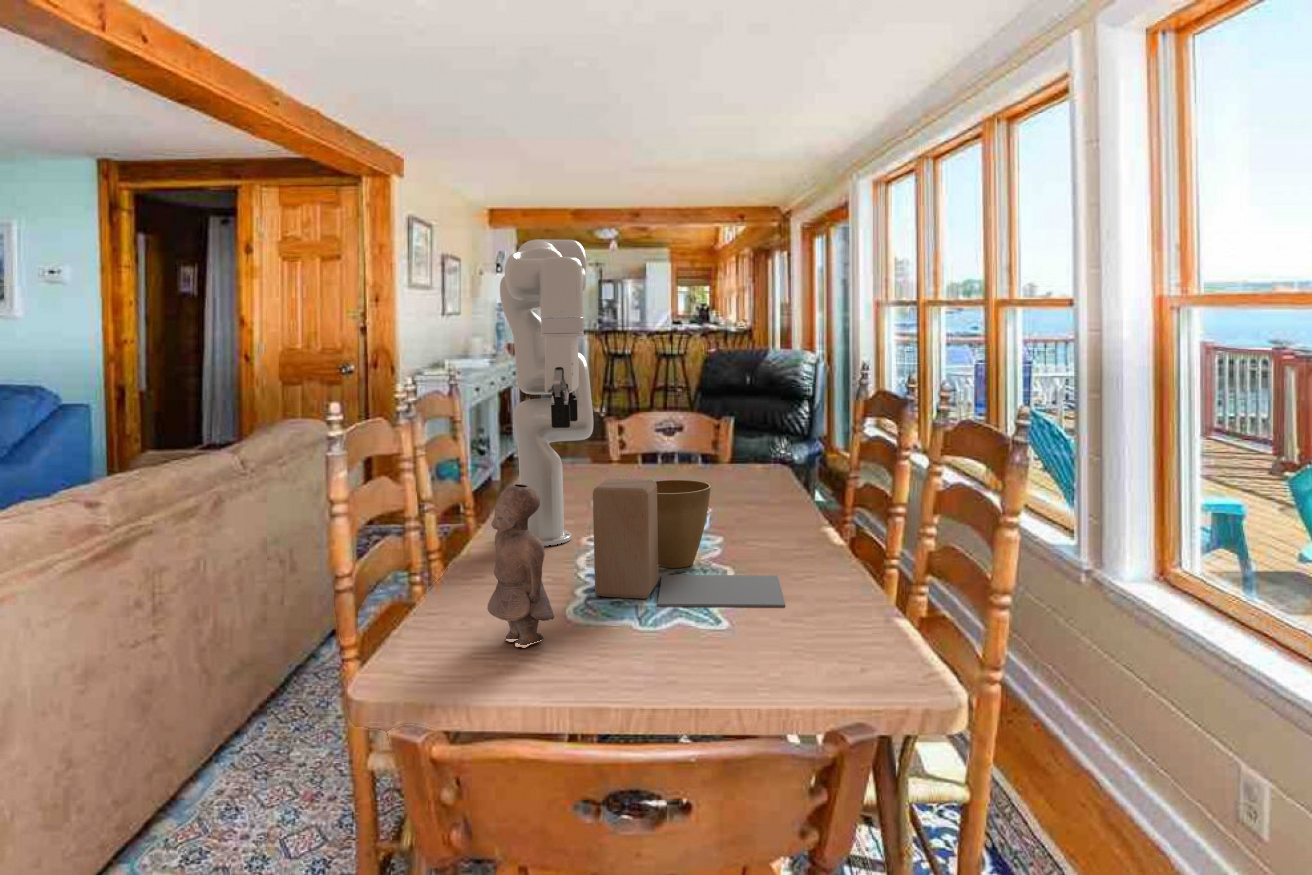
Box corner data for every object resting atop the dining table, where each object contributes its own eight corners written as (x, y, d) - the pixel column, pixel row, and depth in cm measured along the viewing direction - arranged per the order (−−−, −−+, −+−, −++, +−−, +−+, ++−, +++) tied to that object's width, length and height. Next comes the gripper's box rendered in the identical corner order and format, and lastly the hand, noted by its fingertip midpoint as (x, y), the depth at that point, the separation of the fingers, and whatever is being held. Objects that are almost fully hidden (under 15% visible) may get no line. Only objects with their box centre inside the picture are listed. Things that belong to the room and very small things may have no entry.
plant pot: (719, 556, 187) (719, 480, 185) (699, 576, 173) (698, 495, 171) (651, 550, 192) (650, 476, 189) (626, 570, 178) (625, 490, 176)
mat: (657, 605, 156) (657, 603, 156) (662, 576, 173) (662, 574, 173) (785, 606, 155) (785, 604, 155) (777, 577, 172) (777, 575, 172)
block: (648, 600, 159) (646, 489, 156) (593, 597, 161) (591, 488, 158) (659, 583, 169) (658, 478, 166) (607, 581, 171) (605, 477, 168)
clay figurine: (474, 638, 142) (468, 482, 139) (530, 624, 148) (525, 474, 145) (515, 662, 132) (509, 495, 128) (572, 646, 138) (568, 486, 134)
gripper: (549, 327, 168) (552, 419, 170) (532, 329, 151) (535, 430, 153) (589, 327, 168) (591, 418, 170) (577, 328, 151) (579, 430, 153)
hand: (565, 424), depth 162 cm, fingers open, 9 cm apart
